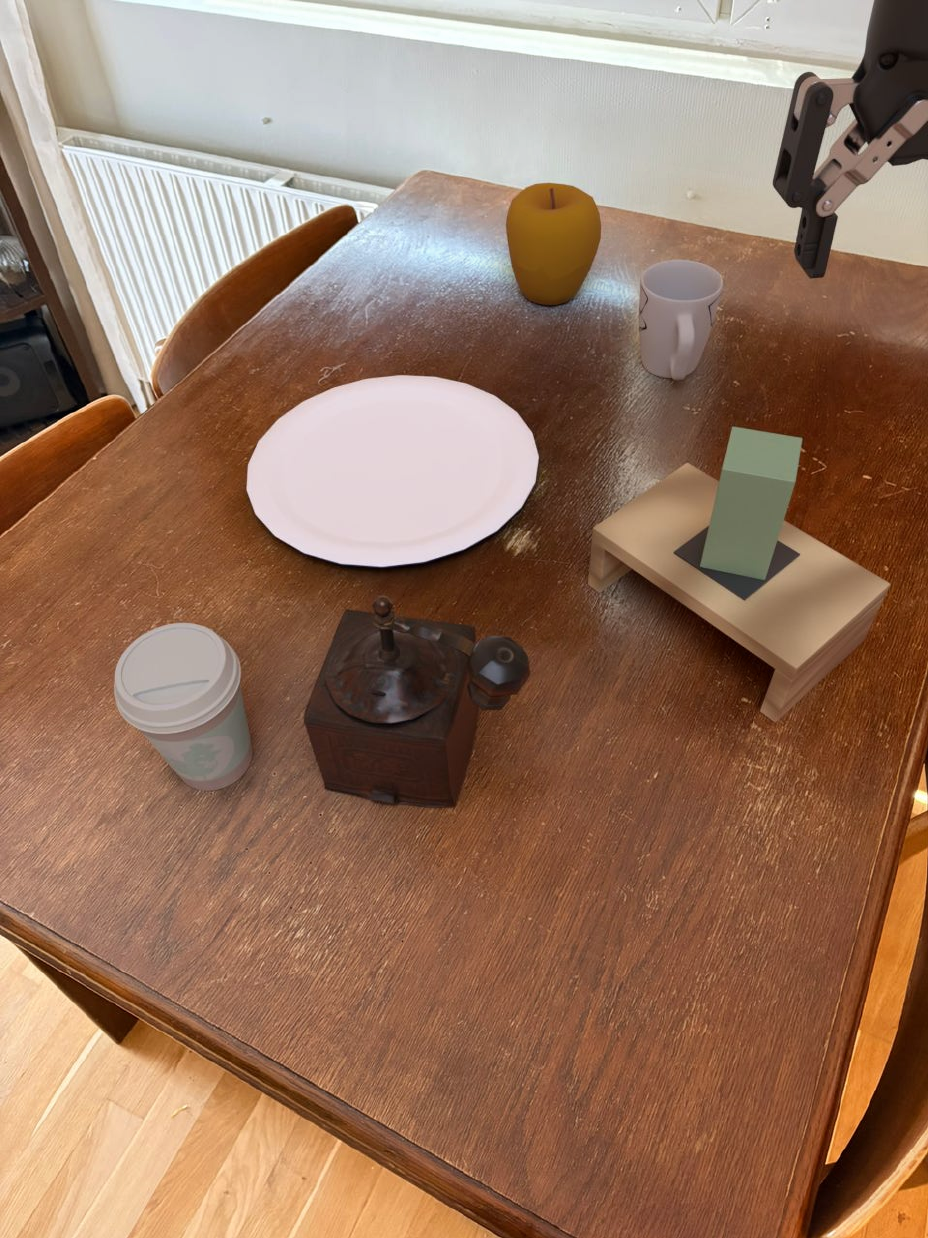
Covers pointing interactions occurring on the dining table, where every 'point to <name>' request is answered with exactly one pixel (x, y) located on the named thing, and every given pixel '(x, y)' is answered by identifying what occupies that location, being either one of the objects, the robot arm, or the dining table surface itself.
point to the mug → (676, 315)
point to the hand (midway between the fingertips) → (883, 265)
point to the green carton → (751, 502)
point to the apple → (552, 240)
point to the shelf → (743, 584)
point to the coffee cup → (187, 702)
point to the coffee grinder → (406, 704)
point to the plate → (392, 471)
